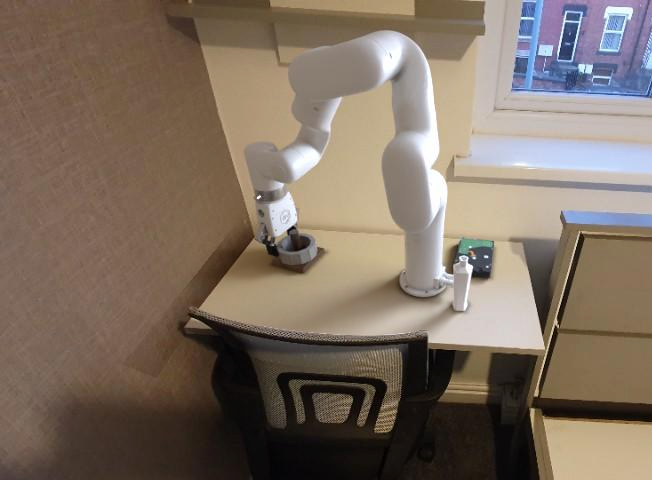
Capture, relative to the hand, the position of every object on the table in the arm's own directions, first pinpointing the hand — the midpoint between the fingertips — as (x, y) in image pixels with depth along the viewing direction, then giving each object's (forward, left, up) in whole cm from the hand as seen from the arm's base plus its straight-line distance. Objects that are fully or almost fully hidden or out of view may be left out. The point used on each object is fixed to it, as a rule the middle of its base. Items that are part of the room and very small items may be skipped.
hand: (283, 246), depth 111 cm
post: (-5, 0, -3) cm, 5 cm away
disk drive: (-51, -18, -3) cm, 54 cm away
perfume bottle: (-53, +1, -3) cm, 53 cm away
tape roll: (-5, 0, -1) cm, 5 cm away
